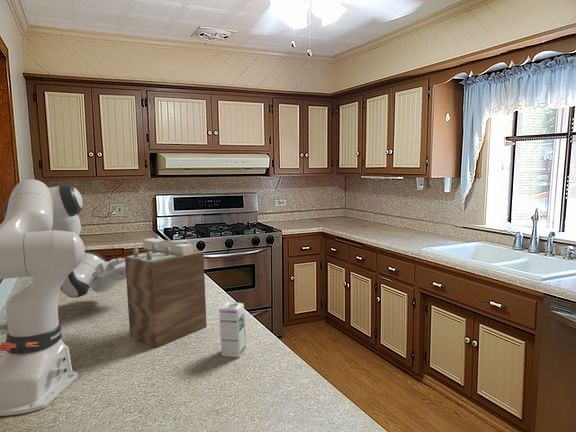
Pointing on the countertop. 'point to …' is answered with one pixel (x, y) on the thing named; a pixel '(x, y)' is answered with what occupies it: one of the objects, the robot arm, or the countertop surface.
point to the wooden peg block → (165, 295)
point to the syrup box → (232, 329)
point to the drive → (174, 246)
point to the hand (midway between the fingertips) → (132, 257)
